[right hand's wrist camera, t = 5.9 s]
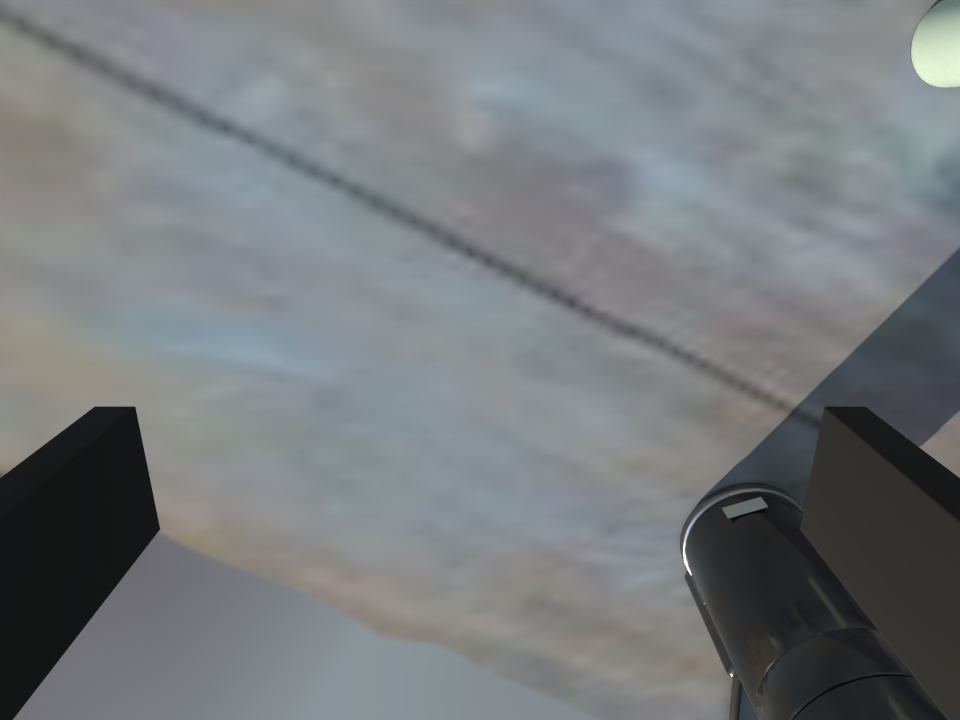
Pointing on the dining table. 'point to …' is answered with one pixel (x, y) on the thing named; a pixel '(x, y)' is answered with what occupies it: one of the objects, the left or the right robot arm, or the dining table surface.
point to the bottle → (938, 45)
